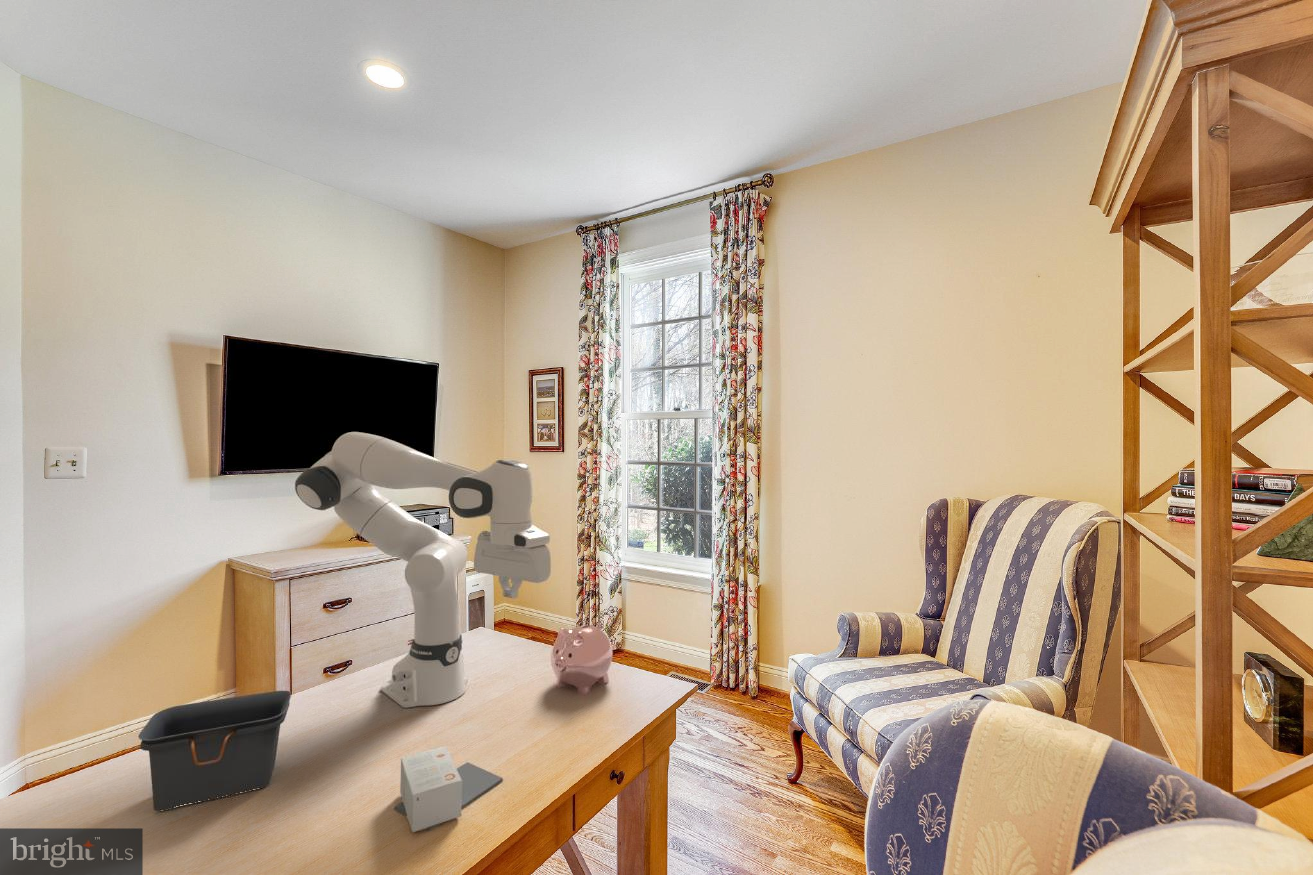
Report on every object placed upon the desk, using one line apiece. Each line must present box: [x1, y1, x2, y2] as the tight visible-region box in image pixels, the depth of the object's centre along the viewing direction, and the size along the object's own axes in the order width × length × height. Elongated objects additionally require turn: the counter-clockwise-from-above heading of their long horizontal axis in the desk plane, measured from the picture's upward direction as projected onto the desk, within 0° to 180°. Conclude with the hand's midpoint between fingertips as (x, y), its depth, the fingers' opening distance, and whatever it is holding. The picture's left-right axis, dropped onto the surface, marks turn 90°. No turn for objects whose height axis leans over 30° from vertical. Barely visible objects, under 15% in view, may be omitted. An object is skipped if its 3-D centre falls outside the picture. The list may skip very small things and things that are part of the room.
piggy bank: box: [550, 621, 613, 696], centre depth 148 cm, size 15×18×16 cm
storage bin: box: [137, 690, 292, 812], centre depth 101 cm, size 21×16×14 cm
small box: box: [399, 745, 462, 834], centre depth 98 cm, size 8×6×13 cm
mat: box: [393, 761, 504, 831], centre depth 101 cm, size 10×16×1 cm, turn 149°
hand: (510, 597), depth 120 cm, fingers closed
